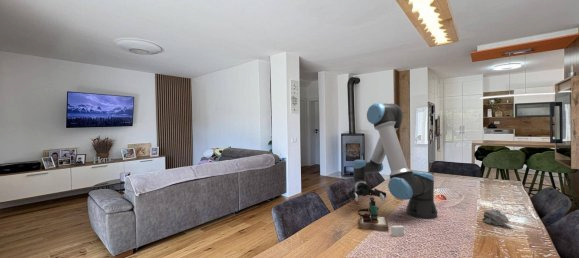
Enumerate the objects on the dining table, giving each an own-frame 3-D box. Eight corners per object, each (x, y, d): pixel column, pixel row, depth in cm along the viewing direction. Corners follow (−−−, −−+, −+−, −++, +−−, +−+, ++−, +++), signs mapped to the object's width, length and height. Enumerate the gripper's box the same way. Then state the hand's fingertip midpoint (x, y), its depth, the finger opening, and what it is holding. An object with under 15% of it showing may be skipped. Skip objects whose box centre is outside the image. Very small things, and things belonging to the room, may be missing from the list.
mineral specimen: (496, 232, 126) (486, 231, 121) (485, 217, 132) (474, 215, 127) (515, 223, 120) (505, 221, 116) (502, 208, 126) (492, 205, 122)
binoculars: (356, 197, 129) (376, 196, 127) (358, 217, 129) (378, 217, 127) (357, 202, 120) (378, 201, 118) (359, 224, 120) (381, 224, 118)
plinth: (386, 221, 128) (386, 216, 128) (388, 231, 117) (388, 225, 117) (360, 219, 132) (359, 214, 132) (359, 228, 120) (359, 223, 120)
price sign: (402, 234, 114) (402, 225, 114) (403, 235, 112) (403, 227, 112) (391, 234, 114) (391, 226, 113) (392, 236, 112) (392, 227, 112)
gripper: (383, 194, 151) (395, 206, 130) (341, 194, 153) (346, 205, 132) (383, 182, 151) (395, 192, 130) (341, 181, 153) (346, 191, 132)
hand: (370, 199), depth 131 cm, fingers open, 13 cm apart
